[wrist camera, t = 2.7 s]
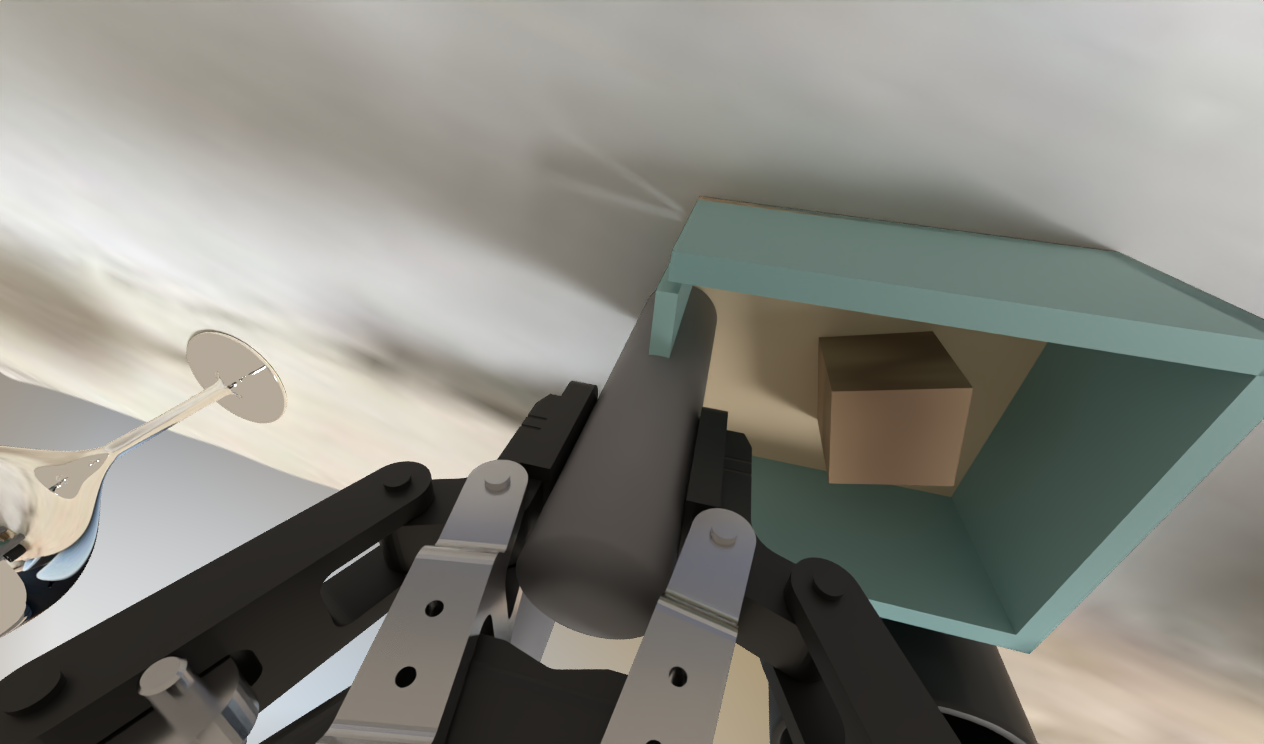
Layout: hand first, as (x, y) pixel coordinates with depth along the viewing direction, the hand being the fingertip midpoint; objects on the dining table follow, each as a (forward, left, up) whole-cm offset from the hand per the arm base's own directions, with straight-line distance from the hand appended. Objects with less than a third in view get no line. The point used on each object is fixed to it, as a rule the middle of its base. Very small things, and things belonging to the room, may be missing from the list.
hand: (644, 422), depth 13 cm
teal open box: (-7, +1, -8) cm, 11 cm away
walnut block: (-8, +1, -8) cm, 11 cm away
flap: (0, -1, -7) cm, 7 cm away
